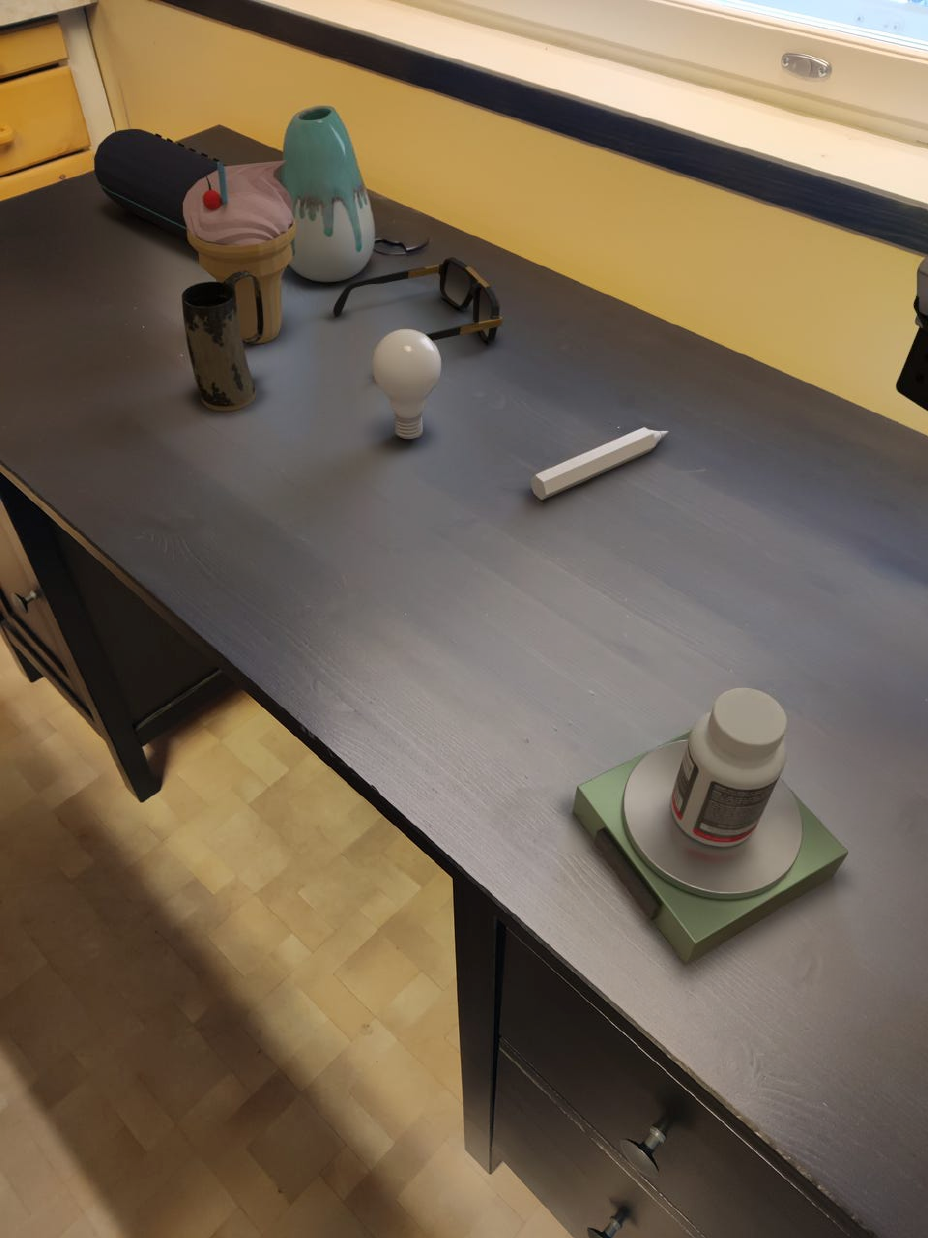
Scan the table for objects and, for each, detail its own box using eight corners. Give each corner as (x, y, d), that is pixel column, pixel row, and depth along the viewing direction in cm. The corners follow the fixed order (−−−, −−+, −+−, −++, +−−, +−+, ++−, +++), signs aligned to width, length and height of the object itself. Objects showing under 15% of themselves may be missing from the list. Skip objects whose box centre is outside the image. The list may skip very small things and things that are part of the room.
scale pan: (720, 722, 63) (723, 714, 63) (837, 848, 57) (841, 842, 56) (587, 788, 60) (588, 781, 59) (696, 932, 53) (699, 926, 52)
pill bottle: (774, 812, 58) (820, 716, 50) (723, 866, 55) (764, 774, 48) (702, 759, 60) (736, 661, 53) (651, 809, 58) (680, 713, 50)
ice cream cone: (318, 350, 101) (296, 157, 86) (216, 367, 98) (176, 171, 84) (296, 302, 108) (272, 116, 93) (201, 317, 105) (161, 128, 91)
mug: (214, 418, 92) (189, 305, 83) (190, 392, 95) (164, 281, 86) (285, 392, 95) (269, 281, 86) (260, 368, 98) (241, 258, 89)
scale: (712, 739, 66) (721, 714, 64) (834, 875, 59) (849, 852, 57) (566, 813, 62) (570, 789, 59) (679, 969, 55) (689, 948, 52)
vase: (263, 281, 111) (239, 120, 98) (311, 241, 118) (294, 86, 105) (350, 300, 108) (336, 137, 95) (393, 258, 115) (386, 101, 102)
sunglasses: (333, 316, 106) (329, 274, 102) (453, 289, 110) (454, 248, 107) (380, 378, 97) (378, 334, 93) (509, 345, 102) (511, 303, 98)
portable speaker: (278, 246, 117) (267, 163, 110) (215, 273, 112) (199, 189, 105) (159, 189, 129) (141, 111, 121) (96, 212, 123) (74, 132, 116)
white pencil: (666, 445, 91) (538, 503, 84) (656, 427, 91) (527, 483, 85) (680, 433, 88) (550, 491, 82) (669, 414, 89) (538, 470, 82)
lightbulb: (411, 409, 93) (407, 308, 85) (455, 436, 90) (456, 334, 82) (362, 435, 90) (354, 332, 82) (406, 464, 87) (402, 361, 79)
